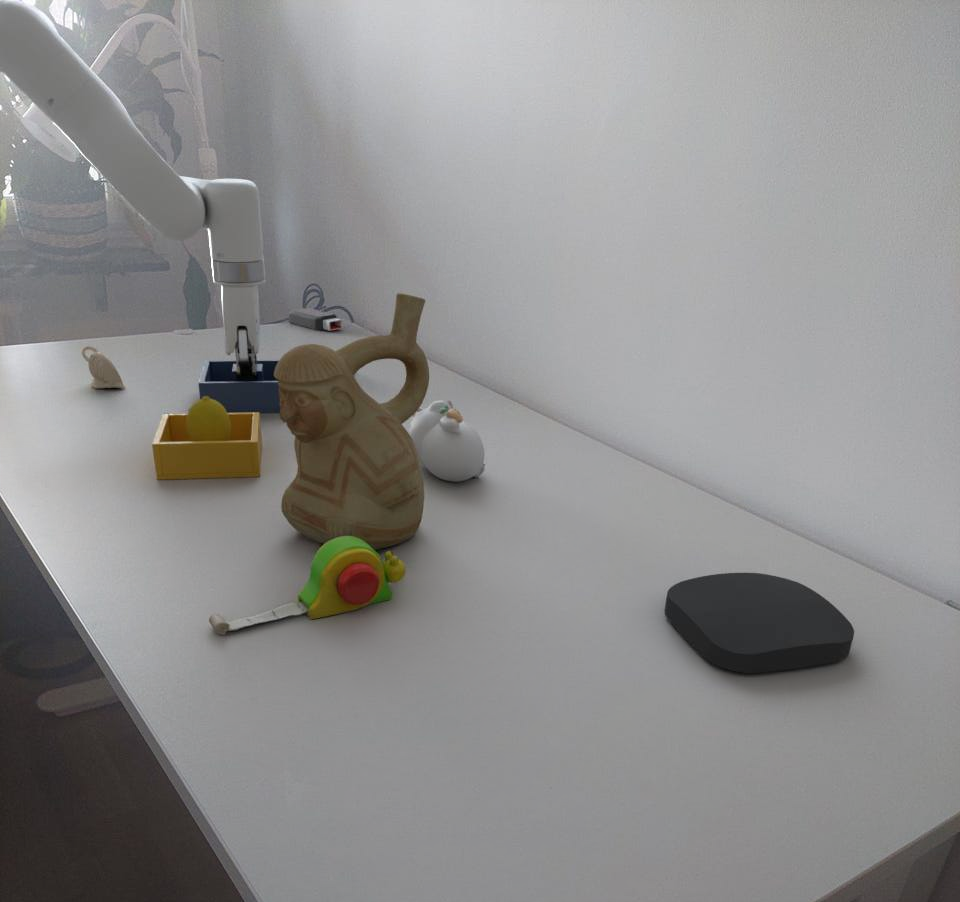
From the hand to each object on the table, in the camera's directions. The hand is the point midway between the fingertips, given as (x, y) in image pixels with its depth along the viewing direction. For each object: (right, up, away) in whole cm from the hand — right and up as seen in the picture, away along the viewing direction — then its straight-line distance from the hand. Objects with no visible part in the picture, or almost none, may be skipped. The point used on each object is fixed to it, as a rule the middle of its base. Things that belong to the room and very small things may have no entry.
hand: (249, 394), depth 151 cm
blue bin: (0, -1, 0) cm, 1 cm away
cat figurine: (+31, -16, -24) cm, 43 cm away
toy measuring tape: (+20, -36, -59) cm, 71 cm away
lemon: (+1, -15, -24) cm, 28 cm away
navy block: (0, 0, 0) cm, 0 cm away
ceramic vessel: (+23, -27, -42) cm, 55 cm away
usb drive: (+2, +26, +48) cm, 54 cm away
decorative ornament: (-25, +3, +5) cm, 25 cm away
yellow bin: (+1, -15, -24) cm, 28 cm away
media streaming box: (+62, -38, -59) cm, 94 cm away
